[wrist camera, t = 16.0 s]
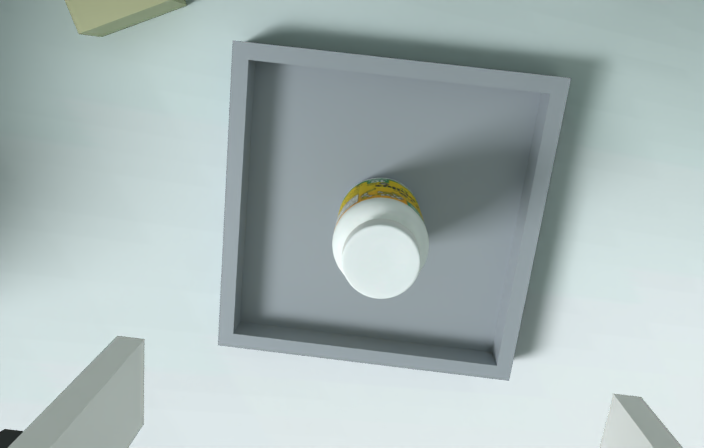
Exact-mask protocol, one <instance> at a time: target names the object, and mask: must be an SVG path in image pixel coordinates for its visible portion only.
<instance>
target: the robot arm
mask: <svg viewBox="0 0 704 448" xmlns="http://www.w3.org/2000/svg"><path fill="white" fill-rule="evenodd" d="M143 424H144V339H139V338H131V337H122V336H117V337H116V338H115V339H114V340H113V341H112V342H111V343H110V344H109V345H108V346H107V347H106V348H105V349H104V350H103V351H102V352H101V353H100V354H99V355H98V356H97V357H96V358H95V359H94V360H93V361H92V362H91V363H90V364H89V365H88V366H87V367H86V368H85V369H84V370H83V371H82V372H81V373H80V374H79V375H78V376H77V377H76V378H75V379H74V381H73V382H72V383H71V384H70V385H69V386H68V387H67V388H66V389H65V390H64V391H63V392H62V393H61V394H60V395H59V396H58V397H57V398H56V399H55V400H54V401H53V402H52V403H51V404H50V405H49V406H48V407H47V408H46V409H45V410H44V411H43V412H42V413H41V414H40V415H39V416H38V417H37V418H36V419H35V420H34V421H33V422H32V423H31V424H30V425H29V426H28V427H27V428H26V429H25V430H24V431H17V430H8V429H4V430H2V431H1V432H0V448H128V447H129V446H130V444H131V443H132V441H133V440H134V438H135V437H136V435H137V434H138V432H139V431H140V429H141V427H142V426H143ZM599 448H683V447H682V446H681V445H680V444H679V442H678V441H677V440H676V439H675V438H674V436H673V435H672V434H671V433H670V432H669V430H668V429H667V428H666V427H665V426H664V424H663V423H662V422H661V421H660V419H659V418H658V417H657V416H656V415H655V413H654V412H653V411H652V410H651V409H650V407H649V406H648V405H647V404H646V402H645V401H644V400H643V399H642V398H641V397H637V396H628V395H620V394H613V397H612V401H611V405H610V409H609V412H608V416H607V420H606V424H605V428H604V431H603V435H602V439H601V443H600V446H599Z"/></svg>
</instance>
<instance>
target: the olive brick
mask: <svg viewBox="0 0 704 448" xmlns="http://www.w3.org/2000/svg"><path fill="white" fill-rule="evenodd" d="M65 2H66V5H67V7H68V9H69V12H70V14H71V16H72V19H73V21H74V24H75V26H76V28H77V31H78V33H79V34H83V35H91V36H98V37H103V36H106V35H108V34H111V33H114V32H117V31H119V30H122V29H125V28H127V27H130V26H133V25H136V24H138V23H141V22H144V21H146V20H149V19H152V18H155V17H157V16H160V15H163V14H165V13H168V12H171V11H174V10H176V9H179V8H182V7H184V6H187V4H186V1H185V0H65Z"/></svg>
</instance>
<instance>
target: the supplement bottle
mask: <svg viewBox="0 0 704 448" xmlns="http://www.w3.org/2000/svg"><path fill="white" fill-rule="evenodd" d="M332 248H333V255H334V258H335V261H336V263H337V266H338V267H339V269H340V270H341V272H342V273H343V274H344V275H345V277H346V279H347V281H348V282H349V284H350V285H351V286H352V287H353V288H354V289H355V290H357V291H358V292H359V293H361V294H363V295H365V296H367V297H371V298H376V299H386V298H391V297H395V296H397V295H400V294H401V293H403V292H405V291H406V290H407V289H408V288H409V287H410V286H411V285H412V284H413V283H414V281H415V280H416V278H417V276H418V274H419V272H420V271H421V269H422V267H423V266H424V264H425V261H426V259H427V255H428V250H429V237H428V233H427V229H426V226H425V223H424V220H423V217H422V214H421V211H420V208H419V205H418V202H417V200H416V198H415V196H414V195H413V193H412V192H411V191H410V190H409V189H408V188H407V187H406V186H405V185H403V184H402V183H400V182H398V181H396V180H393V179H389V178H371V179H367V180H364V181H361V182H359V183H358V184H356V185H355V186H354V187H352V188H351V189H350V190H349V192H348V193H347V194H346V196H345V197H344V199H343V201H342V204H341V206H340V210H339V213H338V218H337V221H336V225H335V229H334V234H333V240H332Z"/></svg>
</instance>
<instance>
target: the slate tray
mask: <svg viewBox="0 0 704 448" xmlns="http://www.w3.org/2000/svg"><path fill="white" fill-rule="evenodd" d="M570 81H571V78H566V77H557V76H548V75H539V74H530V73H521V72H512V71H503V70H494V69H485V68H476V67H467V66H458V65H449V64H440V63H431V62H422V61H413V60H404V59H395V58H386V57H377V56H368V55H359V54H350V53H341V52H332V51H323V50H314V49H305V48H296V47H287V46H278V45H269V44H260V43H251V42H242V41H233V46H232V66H231V87H230V108H229V129H228V149H227V170H226V191H225V211H224V232H223V253H222V274H221V294H220V315H219V336H218V345H220V346H228V347H237V348H245V349H253V350H261V351H269V352H278V353H286V354H294V355H302V356H310V357H319V358H327V359H335V360H343V361H351V362H360V363H368V364H376V365H384V366H392V367H401V368H409V369H417V370H425V371H433V372H442V373H450V374H458V375H466V376H474V377H483V378H491V379H499V380H507V381H509V378H510V373H511V369H512V364H513V359H514V354H515V349H516V344H517V339H518V335H519V330H520V325H521V320H522V315H523V310H524V305H525V300H526V296H527V291H528V286H529V281H530V276H531V271H532V266H533V261H534V257H535V252H536V247H537V242H538V237H539V232H540V227H541V223H542V218H543V213H544V208H545V203H546V198H547V193H548V188H549V184H550V179H551V174H552V169H553V164H554V159H555V154H556V149H557V145H558V140H559V135H560V130H561V125H562V120H563V115H564V111H565V106H566V101H567V96H568V91H569V86H570ZM371 178H389V179H393V180H396V181H398V182H400V183H402V184H403V185H405V186H406V187H407V188H408V189H409V190H410V191H411V192H412V193H413V195H414V196H415V198H416V200H417V202H418V205H419V208H420V211H421V214H422V217H423V220H424V223H425V226H426V229H427V233H428V237H429V250H428V255H427V259H426V261H425V264H424V266H423V267H422V269H421V271H420V272H419V274H418V276H417V278H416V280H415V281H414V283H413V284H412V285H411V286H410V287H409V288H408V289H407V290H406V291H405V292H403V293H401V294H400V295H397V296H395V297H391V298H386V299H376V298H371V297H367V296H365V295H363V294H361V293H359V292H358V291H357V290H355V289H354V288H353V287H352V286H351V285H350V284H349V282H348V281H347V279H346V277H345V275H344V274H343V273H342V272H341V270H340V269H339V267H338V266H337V263H336V261H335V258H334V255H333V248H332V240H333V234H334V229H335V225H336V221H337V218H338V213H339V210H340V206H341V204H342V201H343V199H344V197H345V196H346V194H347V193H348V192H349V190H350V189H351V188H352V187H354V186H355V185H356V184H358V183H359V182H361V181H364V180H367V179H371Z"/></svg>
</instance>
